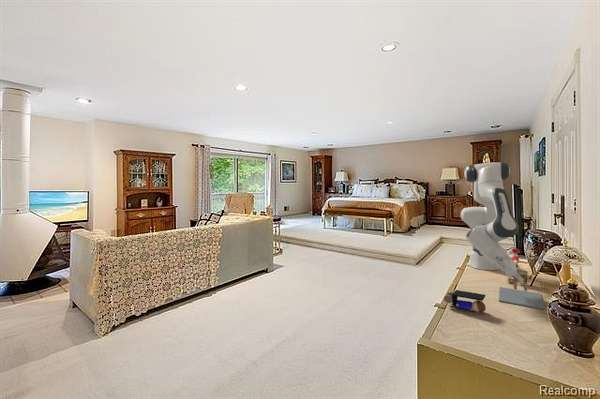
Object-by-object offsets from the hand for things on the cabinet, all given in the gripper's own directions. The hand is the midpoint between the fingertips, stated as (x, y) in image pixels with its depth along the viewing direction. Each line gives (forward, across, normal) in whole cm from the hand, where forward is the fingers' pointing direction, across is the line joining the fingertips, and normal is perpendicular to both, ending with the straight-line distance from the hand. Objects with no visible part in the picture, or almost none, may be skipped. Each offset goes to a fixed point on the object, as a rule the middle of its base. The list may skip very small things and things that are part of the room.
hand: (522, 278), depth 131 cm
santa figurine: (+5, +24, +8) cm, 26 cm away
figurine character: (-8, -27, +22) cm, 35 cm away
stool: (+3, 0, +4) cm, 5 cm away
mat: (+6, 0, +7) cm, 9 cm away
